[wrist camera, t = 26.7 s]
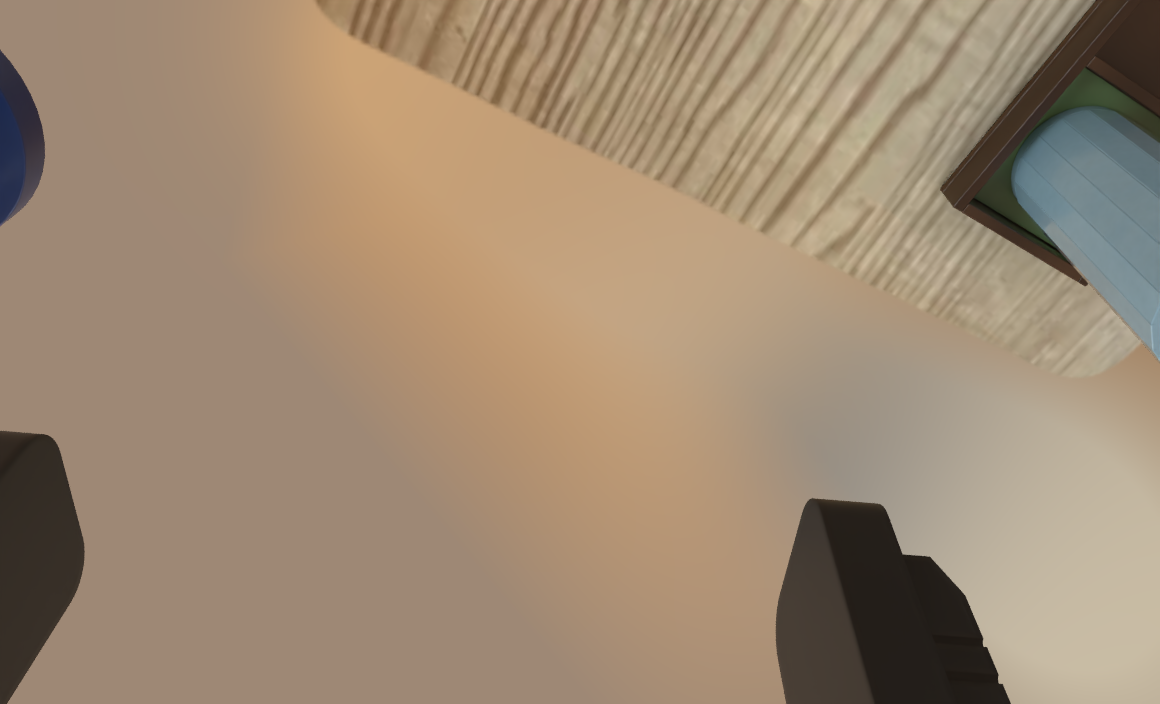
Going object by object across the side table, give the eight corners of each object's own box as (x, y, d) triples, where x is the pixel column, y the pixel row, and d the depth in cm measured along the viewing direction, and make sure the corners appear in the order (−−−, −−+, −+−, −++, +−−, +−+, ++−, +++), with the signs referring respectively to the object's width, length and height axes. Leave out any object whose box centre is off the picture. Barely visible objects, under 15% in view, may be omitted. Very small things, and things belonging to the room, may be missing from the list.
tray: (1347, -27, 38) (1381, -17, 36) (1067, 267, 45) (1085, 287, 43) (1208, -136, 36) (1237, -130, 34) (939, 189, 43) (952, 207, 42)
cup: (1081, 240, 44) (1241, 405, 33) (985, 193, 43) (1116, 347, 32) (1167, 137, 41) (1371, 279, 30) (1065, 84, 40) (1239, 211, 29)
